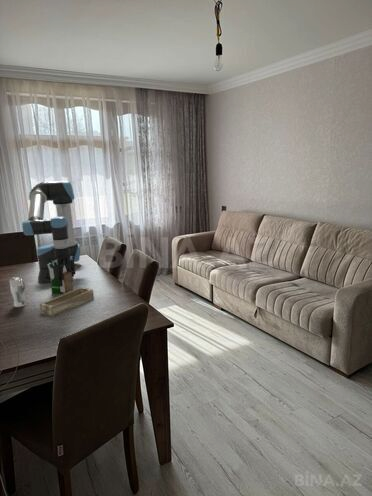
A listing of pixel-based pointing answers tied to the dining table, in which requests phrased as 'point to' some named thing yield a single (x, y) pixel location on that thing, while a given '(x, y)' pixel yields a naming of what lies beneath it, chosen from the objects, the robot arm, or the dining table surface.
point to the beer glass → (18, 291)
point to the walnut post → (67, 281)
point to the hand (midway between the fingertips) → (66, 290)
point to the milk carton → (54, 282)
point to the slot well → (66, 301)
